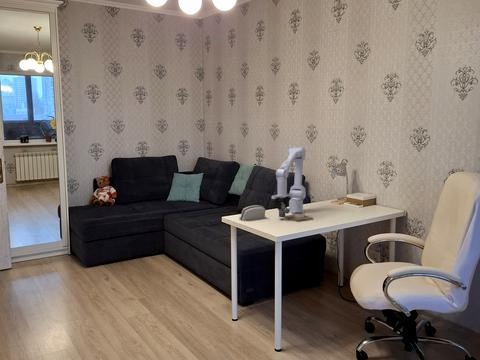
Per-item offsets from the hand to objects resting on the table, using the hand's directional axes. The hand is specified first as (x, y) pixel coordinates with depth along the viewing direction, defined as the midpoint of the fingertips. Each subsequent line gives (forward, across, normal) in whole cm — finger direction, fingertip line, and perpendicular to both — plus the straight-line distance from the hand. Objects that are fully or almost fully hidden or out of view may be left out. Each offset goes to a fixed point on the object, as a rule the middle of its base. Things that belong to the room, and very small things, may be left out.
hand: (282, 209), depth 268 cm
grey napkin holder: (+7, -15, +11) cm, 20 cm away
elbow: (+5, 0, -2) cm, 5 cm away
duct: (+7, +10, -4) cm, 13 cm away
